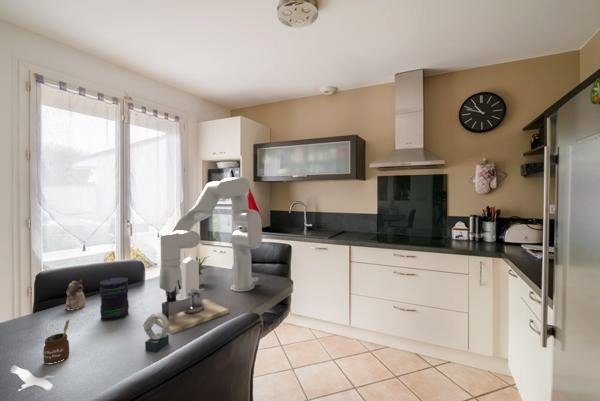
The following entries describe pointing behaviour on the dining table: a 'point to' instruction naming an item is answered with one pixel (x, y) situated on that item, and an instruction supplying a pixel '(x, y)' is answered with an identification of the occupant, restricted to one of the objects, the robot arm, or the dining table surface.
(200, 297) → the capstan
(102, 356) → the dining table surface
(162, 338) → the white ring on base
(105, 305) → the storage jar
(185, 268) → the milk
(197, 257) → the house plant
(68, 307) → the figurine
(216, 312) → the cutting board
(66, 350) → the brown rounded container
